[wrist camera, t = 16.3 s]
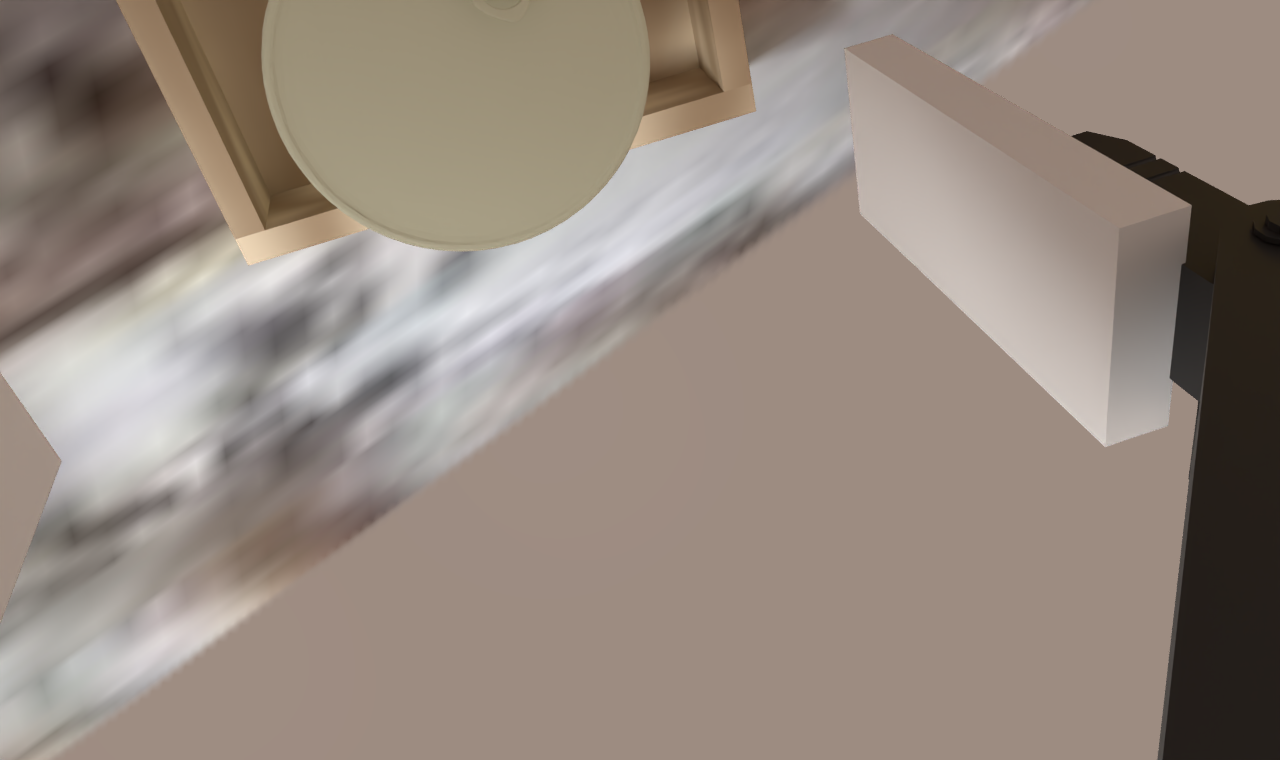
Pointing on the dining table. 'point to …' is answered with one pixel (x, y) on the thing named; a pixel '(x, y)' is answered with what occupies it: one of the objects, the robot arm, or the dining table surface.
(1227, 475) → the robot arm
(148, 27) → the wooden tray
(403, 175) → the can
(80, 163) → the dining table surface
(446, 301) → the dining table surface
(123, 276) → the dining table surface
